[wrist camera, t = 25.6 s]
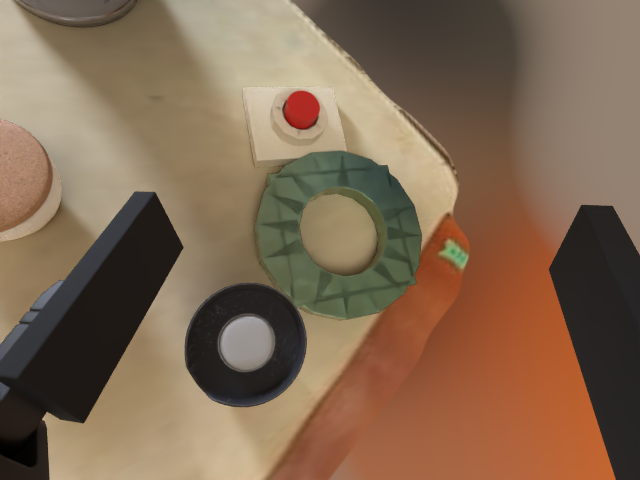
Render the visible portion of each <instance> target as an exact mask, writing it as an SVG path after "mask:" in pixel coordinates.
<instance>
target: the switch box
mask: <svg viewBox="0 0 640 480" xmlns="http://www.w3.org/2000/svg"><path fill="white" fill-rule="evenodd" d="M300 90H301V91H307V92H309V93H311V94H313V95H314V96H315V97H316V99H317V100H318V102H319V105H320V111H319V114H318V116H317V118H316V120H315V122H314V124H313V125H312V126H311V127H309V128H307V129H298V128H295V127H293V126H291V125H290V124H289V123H288V122H287V120H286V118H285V116H284V109H285V106H286V103H287V100H288V97H289V96H290V95H291V94H292V93H293V92H295V91H300ZM242 97H243V102H244V108H245V114H246V119H247V125H248V131H249V137H250V142H251V148H252V154H253V159H254V165H255V167H268V166H282V165H288V164H289V163H291V162H293V161H295V160H297V159H299V158H301V157H303V156H305V155H307V154H309V153H311V152H326V151H346V152H347V147H346V143H345V138H344V134H343V130H342V125H341V121H340V116H339V112H338V108H337V103H336V99H335V94H334V90H333V87H244V89H243V96H242Z"/></svg>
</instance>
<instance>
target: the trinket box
mask: <svg viewBox="0 0 640 480" xmlns="http://www.w3.org/2000/svg"><path fill="white" fill-rule="evenodd" d="M61 196H62V185H61V180H60V177H59V173H58V171H57V169H56V167H55V165H54V163H53V161H52V160H51V158H50V157H49V156H48V154H47V152H46V151H45V149H44V148H43V147H42V145H41V144H40V143H39V141H38V140H37V139H36V138H35V137H34V136H32V135H31V134H30V133H29V132H28V131H26V130H25V129H23V128H22V127H20V126H17V125H15V124H13V123H11V122H8V121H5V120H2V119H0V241H9V240H15V239H18V238H22V237H25V236H27V235H30V234H32V233H34V232H36V231H38V230H39V229H41V228H42V227H43V226H45V225H46V224H47V223H48V222H49V221H50V220H51V219H52V217H53V216H54V215H55V213H56V211H57V209H58V207H59V204H60V201H61Z"/></svg>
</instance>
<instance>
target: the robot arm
mask: <svg viewBox="0 0 640 480" xmlns="http://www.w3.org/2000/svg"><path fill="white" fill-rule="evenodd" d="M15 1H16V2H17V3H18V4H20V5H21V6H22V7H23V8H25V9H26V10H28V11H29V12H31V13H32V14H34V15H36V16H38V17H40V18H42V19H45V20H48V21H50V22H54V23H57V24H62V25H67V26H76V27H88V26H97V25H102V24H106V23H109V22H112V21H114V20H116V19H118V18H120V17H122V16H123V15H125V14H126V13H127V12H128V11H129V10H131V8H132V7H133V6H134V5H135V3H136V2H137V0H15ZM183 248H184V247H183V245H182V243H181V241H180V239H179V237H178V235H177V234H176V232H175V230H174V228H173V226H172V224H171V222H170V220H169V218H168V216H167V214H166V212H165V210H164V208H163V206H162V204H161V202H160V201H159V199H158V197H157V195H156V193H155V192H134V194H133V195H132V196H131V197H130V199H129V200H128V201H127V202H126V204H125V205H124V206H123V207H122V209H121V210H120V211H119V213H118V214H117V215H116V216H115V218H114V219H113V220H112V221H111V223H110V224H109V225H108V226H107V228H106V229H105V230H104V231H103V233H102V234H101V235H100V236H99V238H98V239H97V240H96V241H95V243H94V244H93V245H92V246H91V248H90V249H89V250H88V251H87V253H86V254H85V255H84V256H83V258H82V259H81V260H80V261H79V263H78V264H77V265H76V266H75V268H74V269H73V270H72V271H71V273H70V274H69V275H68V276H67V278H66V279H65V280H59V281H58V282H56V283H55V284H54V285H52V286H51V287H50V288H49V289H47V290H46V291H45V292H43V293H42V294H41V296H40V297H39V298H38V299H37V300H36V302H35V303H34V304H33V305H32V307H31V308H30V311H29V312H27V313H26V314H25V315H24V316H23V317H22V319H21V320H20V321H19V322H20V323H19V325H16V326H15V327H14V328H13V330H12V331H11V332H10V333H9V335H8V336H7V337H6V338H5V339H4V341H3V342H2V343H1V344H0V480H49V461H48V441H47V427H46V424H45V421H43V420H42V418H43V417H44V415H45V414H46V412H49V413H51V414H52V415H54V416H55V417H57V418H59V419H61V420H67V421H73V422H79V423H84V422H85V421H86V419H87V417H88V415H89V413H90V412H91V410H92V408H93V406H94V405H95V403H96V401H97V399H98V398H99V396H100V394H101V392H102V391H103V389H104V387H105V385H106V384H107V382H108V380H109V378H110V376H111V375H112V373H113V371H114V369H115V368H116V366H117V364H118V362H119V361H120V359H121V357H122V355H123V354H124V352H125V350H126V348H127V346H128V345H129V343H130V341H131V339H132V338H133V336H134V334H135V332H136V331H137V329H138V327H139V325H140V324H141V322H142V320H143V318H144V316H145V315H146V313H147V311H148V309H149V308H150V306H151V304H152V302H153V301H154V299H155V297H156V295H157V294H158V292H159V290H160V288H161V286H162V285H163V283H164V281H165V279H166V278H167V276H168V274H169V272H170V271H171V269H172V267H173V265H174V264H175V262H176V260H177V258H178V257H179V255H180V253H181V251H182V249H183ZM549 271H550V275H551V278H552V281H553V284H554V287H555V290H556V293H557V297H558V300H559V302H560V306H561V309H562V312H563V315H564V318H565V321H566V325H567V328H568V331H569V334H570V337H571V340H572V343H573V347H574V350H575V353H576V356H577V359H578V362H579V365H580V368H581V372H582V375H583V378H584V381H585V384H586V387H587V391H588V393H589V397H590V400H591V403H592V406H593V409H594V413H595V416H596V419H597V422H598V425H599V428H600V431H601V434H602V437H603V441H604V444H605V447H606V450H607V453H608V456H609V459H610V463H611V466H612V469H613V472H614V475H615V478H616V480H640V255H639V253H638V251H637V250H636V248H635V246H634V244H633V242H632V240H631V239H630V237H629V235H628V234H627V231H626V230H625V228H624V226H623V224H622V222H621V220H620V219H619V217H618V215H617V213H616V211H615V210H614V208H613V206H598V205H596V206H595V205H581V207H580V209H579V211H578V213H577V215H576V217H575V219H574V221H573V223H572V225H571V226H570V229H569V230H568V232H567V234H566V237H565V238H564V240H563V242H562V244H561V247H560V248H559V250H558V252H557V254H556V256H555V258H554V260H553V262H552V264H551V266H550V268H549Z"/></svg>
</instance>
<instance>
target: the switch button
mask: <svg viewBox="0 0 640 480" xmlns="http://www.w3.org/2000/svg"><path fill="white" fill-rule="evenodd" d="M319 111H320V105H319V102H318V100H317V99H316V97H315V96H314V95H313V94H311V93H309V92H307V91H301V90H300V91H295V92H293V93H292V94H291V95H290V96H289V97H288V100H287V103H286V106H285V109H284V116H285V118H286V120H287V122H288V123H289V124H290V125H291V126H293V127H295V128H298V129H307V128H309V127H311V126H312V125H313V124H314V122H315V120H316V118H317V116H318V114H319Z"/></svg>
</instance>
